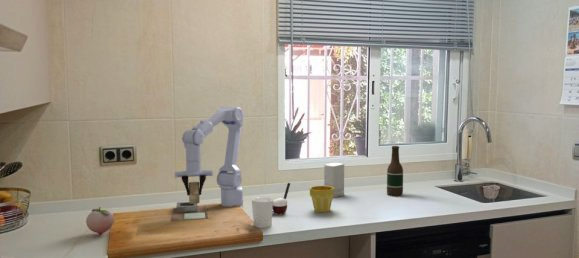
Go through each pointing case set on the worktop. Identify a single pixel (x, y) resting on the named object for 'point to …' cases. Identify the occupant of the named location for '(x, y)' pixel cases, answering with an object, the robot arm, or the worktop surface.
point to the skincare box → (334, 177)
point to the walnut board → (180, 216)
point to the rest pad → (194, 216)
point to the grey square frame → (186, 207)
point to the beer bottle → (395, 175)
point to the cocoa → (281, 203)
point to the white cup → (262, 212)
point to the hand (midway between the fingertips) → (194, 194)
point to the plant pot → (322, 197)
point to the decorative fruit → (100, 221)
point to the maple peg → (194, 193)
